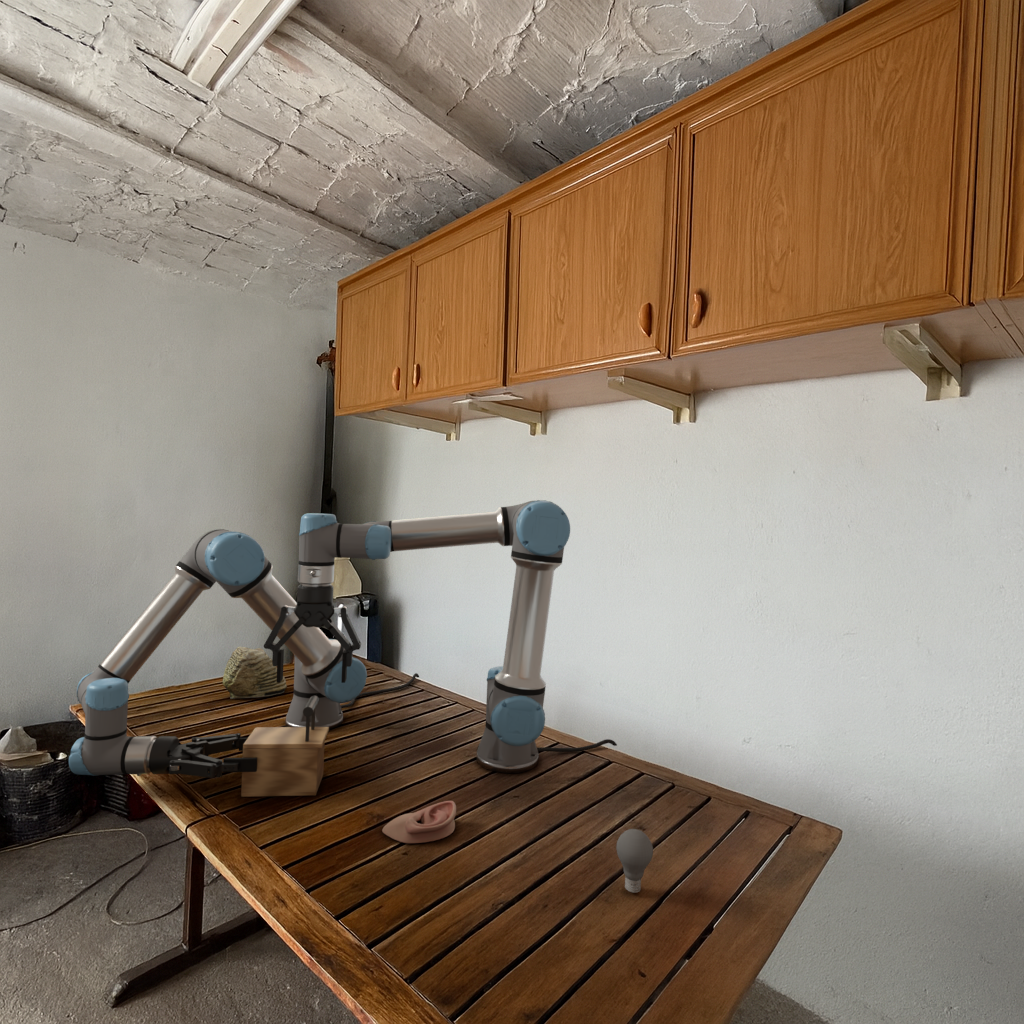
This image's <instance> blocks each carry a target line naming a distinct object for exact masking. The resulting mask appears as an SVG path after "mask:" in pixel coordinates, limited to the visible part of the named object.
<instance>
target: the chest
mask: <svg viewBox="0 0 1024 1024" xmlns="http://www.w3.org/2000/svg"><path fill="white" fill-rule="evenodd" d="M325 742H326V740H325V741H324V743H323V746H322V748H243V751H242V758H256V757H257V771H256V772H241V790H240V791H241V792H240V796H241V797H242V798H245V797H246V798H247V797H295V796H299V797H300V796H301V797H302V796H317V793H318V790H319V787H320V785H321V782H322V779H323V777H324V768H325V766H324V764H325Z"/></svg>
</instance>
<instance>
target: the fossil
mask: <svg viewBox="0 0 1024 1024" xmlns="http://www.w3.org/2000/svg"><path fill="white" fill-rule="evenodd" d="M222 676H223V677H222V685H223V687H224V688H225V690H226V691H228V693H229V698H230V699H250V698H264V697H271V696H275V695H281V694H284V693H285V691H286V689H287V687H288V686H287V680H286V678H285V676H284V675H283V679H282V681H281V682H280V683H277V666H273V664H272V658H271V657H270V656H269V655H268V654H267V653H266V652H265V650H264V649H263V648H260V647H258V648H251V647H247V646H246V647H245V646H238V647H237V648H236V649H235V650H233V651H232V653H231V656H230V657H229V659H228V660H227V663H226V666H225V668H224V671H223V675H222Z"/></svg>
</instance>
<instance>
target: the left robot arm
mask: <svg viewBox="0 0 1024 1024" xmlns="http://www.w3.org/2000/svg"><path fill="white" fill-rule="evenodd" d="M174 570H175V571H174V574H173V575H172V576H171V578H170V579H169V580H168V581H167V583H165V585H164V586H163V587H162V588H161V590H160V591H159V592H158V593H157V594H156V595H155V597H154V598H153V599H152V600H151V602H150V603H149V604H148V605H147V606H146V608H145V609H144V610H143V611H142V612H141V613H140V615H139V616H138V617H137V619H135V621H134V622H133V623H132V624H131V625H130V626H129V628H128V629H127V630H126V631H125V633H124V634H123V635H122V636H121V638H120V639H119V640H118V641H117V643H116V644H115V645H114V646H113V647H112V648H111V650H110V651H109V652H108V654H106V656H105V657H104V658H103V659H102V661H100V663H99V664H98V666H96V668H95V669H94V670H93V671H92V672H89V673H87V674H86V675H84V676H83V677H82V678H81V679H80V680H79V682H78V684H77V686H76V699H77V701H78V702H79V704H80V705H81V708H82V710H83V713H84V715H85V716H84V717H85V718H84V736H82V737H79V738H78V739H76V741H75V742H74V743H73V745H72V746H71V749H70V753H69V754H70V755H69V756H68V766H69V769H70V771H71V772H72V773H73V774H74V775H80V776H81V775H82V776H92V777H96V776H97V777H98V776H113V775H116V776H117V775H136V776H137V777H141V776H142V775H149V774H152V775H186V776H194V777H200V778H201V777H202V778H209V779H214V778H217V779H219V778H221V777H223V773H242V772H256V771H257V757H256V758H243V757H223V760H222V759H219V758H215V757H212V756H211V755H215V754H220V753H225V752H231V751H235V750H238V752H243V744H244V743H245V741H246V740H247V739H248V737H241V736H242V735H241V733H239V732H237V733H229V734H221V735H212V736H211V735H210V736H203V737H201V736H200V737H199V736H195V737H192V738H191V741H190V742H186V743H181V742H180V739H179V738H178V737H177V736H176V735H170V736H169V735H166V736H163V735H162V736H161V735H160V736H155V735H147V736H146V735H145V736H144V735H142V736H141V735H140V736H128V734H127V733H128V708H129V699H130V694H129V683H130V682H131V680H133V678H134V677H135V675H137V673H138V672H139V671H140V669H141V668H142V667H143V666H144V665H145V664H146V662H147V661H148V660H149V658H150V657H151V656H152V654H154V653H155V651H156V650H157V648H158V647H159V646H160V644H162V642H163V641H164V640H165V639H166V637H167V636H168V635H169V633H170V632H171V631H172V630H173V628H174V627H175V626H176V625H177V624H178V623H179V621H180V620H181V619H182V618H183V616H184V615H185V614H186V613H187V611H188V610H189V609H190V607H192V605H193V604H194V602H195V601H196V600H197V599H198V598H199V596H200V595H201V594H202V593H203V591H209V590H210V589H212V587H213V586H214V585H215V584H216V583H217V584H218V585H219V586H220V587H221V588H222V589H223V590H224V591H225V593H227V595H229V597H230V598H232V599H242V600H243V602H244V603H246V605H247V606H248V607H249V608H250V609H251V610H252V611H253V612H254V613H255V614H256V616H258V618H260V620H261V621H262V622H263V623H264V624H265V625H266V626H267V627H268V628H269V630H271V631H272V630H273V628H274V626H275V624H276V623H277V621H278V619H279V617H280V613H281V608H282V607H283V606H284V605H289V606H291V607H296V605H297V600H295V599H294V597H292V595H290V593H289V592H288V591H287V590H286V589H285V588H284V587H283V585H282V584H281V583H280V582H279V581H278V579H276V577H275V576H274V575H273V574H272V573H273V564H272V563H271V561H269V559H268V558H267V556H265V552H264V549H263V548H262V546H261V544H260V543H259V542H258V541H257V540H256V539H255V538H254V537H252V536H250V535H249V534H246V533H244V532H241V531H232V530H229V529H224V528H222V529H221V528H219V529H218V528H217V529H212V530H209V531H207V532H205V533H203V534H202V535H201V536H199V537H198V538H197V539H196V540H195V541H194V543H192V545H191V546H190V547H189V548H188V550H187V551H186V552H185V554H184V555H183V556H182V557H181V558H180V560H179V561H178V562H177V563H176V564H175V566H174ZM298 620H299V619H298V617H297V616H296V615H295V613H294V612H292V614H291V615H290V616H287V619H286V620H285V622H284V624H283V626H282V628H281V629H280V631H279V633H278V635H277V636H276V638H278V639H279V640H280V639H281V638H282V637H283V636H284V635H285V634H286V633H287V632H288V631H289V630H290V629H291V628H292V626H293V625H294V624H295V623H296V622H297V621H298ZM283 645H284V646H285V647H286V648H287V649H288V650H289V651H290V652H291V653H292V654H293V656H294V672H293V695H292V696H293V697H292V699H291V702H290V704H289V708H288V711H287V713H286V715H285V727H306V716H304V715H303V710H304V708H305V706H306V704H307V702H308V701H309V699H310V697H312V696H317V697H318V698H319V703H318V705H317V707H316V709H315V727H329V730H332V729H335V728H337V727H339V726H340V725H342V723H343V722H344V714H343V709H347V708H350V707H352V706H353V705H354V704H355V701H356V699H359V698H361V697H365V696H372V695H377V694H383V693H389V692H396V691H400V690H402V689H404V688H406V687H408V686H409V685H411V684H412V683H414V681H415V679H416V678H420V675H419V673H417V672H416V673H414V674H413V675H412V677H411V679H410V680H409V681H407V682H406V683H404V684H401V685H399V686H394V687H390V688H383V689H382V688H381V689H378V690H372V691H365V692H363V690H364V688H365V687H366V684H367V678H368V673H367V668H366V665H365V664H364V663H363V662H362V661H361V660H360V659H359V658H357V657H354V656H353V655H352V664H351V666H350V667H347V679H346V682H345V683H341V681H342V656H343V651H344V650H345V649H344V648H343V647H342V645H341V644H340V643H339V642H338V640H337V639H336V638H329V637H328V636H326V633H324V632H323V630H322V629H320V628H318V627H306V626H304V625H303V624H302V625H301V626H300V627H299V628H298V629H297V630H296V632H295V633H294V634H293V635H292V636H291V637H290V638H289V639H288V640H287V641H286V642H285V643H284V644H283ZM345 703H346V704H345ZM310 727H311V716H310Z"/></svg>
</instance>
